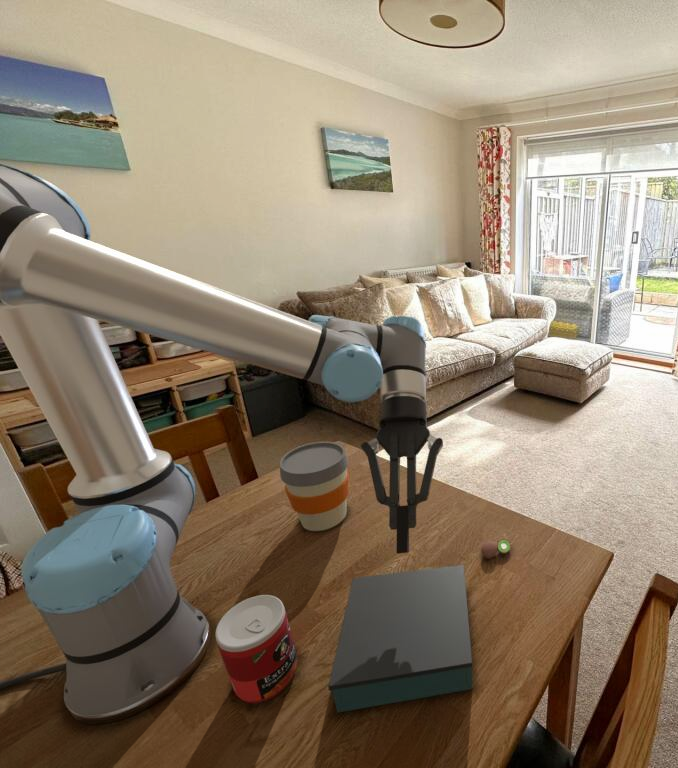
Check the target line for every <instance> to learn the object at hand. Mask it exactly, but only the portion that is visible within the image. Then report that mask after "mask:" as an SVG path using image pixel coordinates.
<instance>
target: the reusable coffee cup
mask: <svg viewBox="0 0 678 768" xmlns="http://www.w3.org/2000/svg"><path fill="white" fill-rule="evenodd" d="M348 466H349V459H348V456H347V453H346V449H345V447H344V446H343V445H342V444H340V443H337V442H334V441H315V442H310V443H306V444H302V445H299V446H297V447H295V448H292V449H291V450H289V451H288V452H286V453H285V454H284V455H282V456H281V458H280V461H279V475H280V479H281V481H282V482H283V484H284V490H285V493H286V496H287V498H288V500H289V503H290V506H291V508H292V510H293V511H294V512H296V514H297V516H298V518H299V521H300V523H301V526H302V528H304V529H305V530H307V531H311V532H320V531H326V530H329V529H331V528H334V527H335V526H337V525H339V524H340V523H342V521H343V520H344V519H345V518H346V516H347V512H348V510H347V509H348V507H347V506H348V505H347V502H348V500H347V498H348V497H349V491H350V489H349V488H350V475H349V471H348Z"/></svg>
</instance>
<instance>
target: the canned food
mask: <svg viewBox="0 0 678 768" xmlns="http://www.w3.org/2000/svg"><path fill="white" fill-rule="evenodd" d="M287 615H288V614H287V612H286V607H285V606H284V604H283V601H282V600H281V599H280V598H278V597H276V596H275V595H270V594H261V595H256V596H253V597H249V598H247V599H246V598H245V599H244V600H241V601H240V602H239V603H237V604H235V605H233V606H232V607H231V608H230V609H229V610H228V611H226V613H224V614H223V616H222V617H221V619H220V620H219V621H218V623H217V626H216V629H215V641H216V644H217V648H218V651H219V653H220V655H221V659H222V662H223V665H224V667H225V669H226V673H227V675H228V678H229V680H230V683H231V685H232V689H233V691H234V694H235V695H236V696H237V698H239V699H241V701H244V702H245V703H249V704H259V703H264V702H266V701H268V700H270V699H273V698H275V697H276V696H278V695H279V694H280V693H282V692H283V690H284V689H286V688H287V686H288V685H289V684H290V683H291V681H292V680H293V678H294V676H295V673H296V670H297V667H298V666H297V665H298V655H297V651H296V647H295V643H294V640H293V636H292V632H291V631H292V630H291V627H290V622H289V619H288V616H287Z"/></svg>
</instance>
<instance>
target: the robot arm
mask: <svg viewBox="0 0 678 768" xmlns="http://www.w3.org/2000/svg"><path fill="white" fill-rule="evenodd" d="M91 238H92V237H91V228H90V224H89V221H88V219H87V217H86V215H85V213H84V212H83V209H81V207H80V206H79V205H78V204H77V203H76V201H74V199H72V197H70V195H68V194H67V193H66V192H65V191H64V190H62V189H61V188H59V187H57V186H56V185H55V184H54V183H51V182H50V181H48V180H46V179H44V178H42V177H40V176H38V175H35V174H33V173H30V172H27V171H25V170H22V169H19V168H16V167H14V166H11V165H7V164H3V163H0V337H1V339H2V340H3V342H4V344H5V346H6V348H7V350H8V351H9V354H10V355H11V357H12V359H13V360H14V362H15V364H16V366H17V368H18V370H19V371H20V373H21V376H22V377H23V379H24V381H25V383H26V384H27V386H28V388H29V390H30V392H31V394H32V396H33V397H34V399H35V401H36V403H37V405H38V406H39V408H40V410H41V412H42V414H43V415H44V417H45V419H46V421H47V423H48V425H49V427H50V429H51V430H52V432H53V434H54V436H55V437H56V439H57V441H58V443H59V445H60V447H61V449H62V450H63V452H64V454H65V456H66V458H67V460H68V461H69V463H70V465H71V467H72V469H73V471H74V472H75V476H74V478H73V479H72V480H71V481H70V483H69V484H68V485H67V493H68V496H69V497H70V498H71V500H72V502H73V505H74V506H75V507H76V509H77V511H78V514H76V515H75V516H72V517H70V518H68V519H66V520H65V521H63V525H61V526H56V527H53V528H51V529H49V530H48V531H47V532H46V533H44V534H43V535H42V536H40V538H39V539H38V540H36V542H35V543H34V544H33V545H32V546H31V547H30V548H29V550H28V551H27V553H26V555H25V557H24V559H23V561H22V563H21V567H20V569H21V570H20V574H21V578H22V581H23V584H24V590H25V594H26V596H27V598H28V600H29V602H30V603H31V604H32V605H34V606H35V608H36V609H37V611H38V613H39V614H40V616H41V619H43V621H44V623H45V624H46V626H47V628H48V630H49V631H50V633H51V635H52V636H53V638H54V640H55V641H56V643H57V645H58V647H59V648H60V650H61V652H62V653H63V655H64V657H65V659H66V661H65V663H62V664H58V665H55V666H50V667H46V668H43V669H39V670H35V671H31V672H29V673H25V674H22V675H19V676H16V677H12V678H9V679H6V680H3V681H0V690H1V689H4V688H8V687H10V686H13V685H17V684H20V683H23V682H26V681H30V680H33V679H37V678H40V677H44V676H49V675H52V674H56V673H60V672H64V671H66V678H65V679H66V680H65V683H64V687H63V688H64V689H63V701H64V704H65V706H66V708H67V710H68V711H69V713H70V715H71V716H72V717H73V718H74V719H75V720H76V721H78V722H80V723H83V724H87V725H103V724H109V723H113V722H118V721H120V720H124V719H127V718H129V717H131V716H134V715H136V714H138V713H140V712H142V711H144V710H146V709H148V708H150V707H151V706H153V705H155V704H156V703H158V702H160V701H161V700H162V699H164V698H165V697H166V696H168V695H169V694H171V693H172V692H173V691H175V690H176V689H177V688H178V687H179V686H180V685H181V684H183V682H184V681H185V680H187V679H188V677H189V676H190V675H191V674H193V672H194V671H195V670H196V669H197V667H198V666H199V664H201V662H202V660H203V658H204V657H205V655H206V653H207V651H208V648H209V647H210V643H211V635H212V633H211V628H210V624H209V621H208V619H207V617H206V615H205V614H204V613H203V612H202V611H201V610H199V609H198V608H197V607H195V606H194V605H192V604H191V602H189V601H188V600H186V599H185V598H184V597H182V596H181V595H180V592H179V590H178V587H177V583H176V582H175V579H174V576H173V573H172V571H171V559H172V557H173V554H174V551H175V549H176V547H177V544H178V542H179V539H180V537H181V534H182V531H183V529H184V526H185V524H186V522H187V519H188V517H189V516H190V514H191V512H192V511H193V510H192V509H193V507H194V505H195V498H196V484H195V480H194V477H193V476H192V474H191V473H190V472H189V471H188V470H187V468H186V467H184V466H183V465H181V464H179V463H178V464H177V463H175V462H174V459H173V457H172V455H171V454H170V453H169V452H168V451H166V450H161V449H157V448H154V446H153V443H152V441H151V439H150V436H149V434H148V432H147V429H146V427H145V425H144V423H143V421H142V419H141V416H140V413H139V412H138V409H137V408H136V405H135V402H134V400H133V398H132V396H131V393H130V391H129V389H128V386H127V384H126V382H125V380H124V377H123V375H122V373H121V370H120V368H119V366H118V364H117V362H116V360H115V357H114V354H113V352H112V350H111V348H110V345H109V343H108V341H107V339H106V336H105V335H104V332H103V330H102V327H101V325H100V322H104V323H108V324H111V325H115V326H117V327H118V326H119V327H122V328H125V329H129V330H131V331H135V332H138V333H142V334H146V335H149V336H152V337H154V338H155V337H156V338H159V339H162V340H166V341H170V342H174V343H177V344H180V345H184V346H186V347H190V348H193V349H197V350H202V351H203V352H204V351H205V352H207V353H211V354H215V355H218V356H221V357H225V358H229V359H231V360H235V361H239V362H242V363H246V364H249V365H252V366H256V367H259V368H263V369H267V370H269V371H273V372H277V373H280V374H284V375H286V376H290V377H293V378H298V379H301V380H304V381H308V382H310V383H314V384H316V385H320V386H324V388H325V389H326V391H327V392H328V393H329V394H330V395H331V396H332V397H334V398H335V399H337V400H339V401H341V402H346V403H358V402H362V401H365V400H367V399H369V398H371V397H372V396H373V395H374V394H375V393H377V392H378V390H379V389H380V392H379V393H380V397H379V398H380V399H379V400H380V401H381V403H380V404H379V427H378V430H377V432H376V434H375V437H374V438H373V439H371V440H370V441H368V442H367V441H364V442H362V443H361V444H360V448H361V450H362V451H363V452H364V454H365V455H366V457H367V460H368V465H369V470H370V474H371V475H370V476H371V480H372V483H373V488H374V493H375V497H376V501H377V502H378V503H379V504H380V505H382V506H383V505H384V506H386V507H388V508H389V517H388V519H389V520H388V527H389V529H390V530H391V531H396V554H408V553H410V529H416V526H417V506H418V505H419V504H421V503H423V502H426V501H428V499H429V495H430V490H431V486H432V481H433V476H434V471H435V468H436V462H437V458H438V455H440V454H439V453H440V452H441V450H442V449H443V447H444V440H443V438H441V437H436V436H434V435H433V434H431V432H430V429H429V428H428V422H427V421H428V419H427V418H428V417H427V415H428V414H427V413H428V412H427V402H425V401H426V400H427V378H426V376H427V375H426V374H427V373H426V352H427V351H426V349H427V343H426V333H425V327H424V325H423V323H422V322H421V321H420V320H419V319H418V318H416V317H414V316H411V315H407V314H402V315H392V316H389V317H387V318H386V319H385V320H384V321H383V323H382V324H380V325H379V324H372V323H366V322H362V321H361V322H360V321H355V320H350V319H345V318H339V317H336V316H334V315H330V316H328V315H320V314H313V315H311V316H310V317H309V318H308V320H306V319H304V318H301V317H299V316H296V315H293V314H290V313H288V312H285V311H282V310H280V309H277V308H274V307H271V306H268V305H266V304H263V303H261V302H257V301H255V300H252V299H251V298H247V297H243V296H242V295H239V294H236V293H233V292H232V291H231V292H230V291H228V290H225V289H222V288H220V287H217V286H214V285H212V284H208V283H206V282H203V281H201V280H198V279H195V278H193V277H190V276H188V275H184V274H181V273H179V272H176V271H173V270H170V269H168V268H165V267H162V266H160V265H157V264H154V263H152V262H149V261H146V260H143V259H141V258H138V257H135V256H132V255H130V254H127V253H125V252H122V251H119V250H116V249H114V248H111V247H108V246H105V245H103V244H100V243H97V242H94V241H92V240H91ZM99 321H100V322H99ZM426 443H427V448H428V450H429V451H428V454H427V458H426V464H425V468H424V471H423V477H422V481H421V485H420V490H419V492H418V493H417V455H419V454H420V452H421V451H422V449H423V448H424V446H425V445H426ZM379 445H380V446H381V447H382V448H383V450H384V451H385V453H386V454H387V455H388V456H389V489H388V490H389V493H388V495H387V492H386V487H385V483H384V479H383V473H382V470H381V469H382V468H381V465H380V462H379V457H378V455H377V454H379V452H380V449H379ZM405 457H406V504H407V505H401V504H400V486H401V484H400V483H401V482H400V481H401V480H400V479H401V478H400V477H401V465H400V464H401V458H405Z"/></svg>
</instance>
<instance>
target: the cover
mask: <svg viewBox="0 0 678 768" xmlns="http://www.w3.org/2000/svg"><path fill="white" fill-rule="evenodd" d="M340 629H341V630H340V634H339V637H338V642H337V647H336V651H335V656H334V660H333V663H332V664H333V665H332V668H331V674H330V677H329V682H328V690H329V691H332V690H335V689H341V688H347V687H353V686H359V685H365V684H371V683H377V682H383V681H389V680H395V679H401V678H407V677H413V676H419V675H426V674H432V673H438V672H444V671H450V670H456V669H462V668H468V667H472V668H473V656H472V655H473V654H472V642H471V630H470V619H469V606H468V596H467V585H466V572H465V564H456V565H447V566H441V567H431V568H424V569H416V570H407V571H400V572H390V573H383V574H374V575H367V576H365V575H364V576H358V577H357V576H356V577H353V578H352V582H351V586H350V590H349V594H348V599H347V603H346V607H345V612H344V616H343V620H342V624H341V628H340Z"/></svg>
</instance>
